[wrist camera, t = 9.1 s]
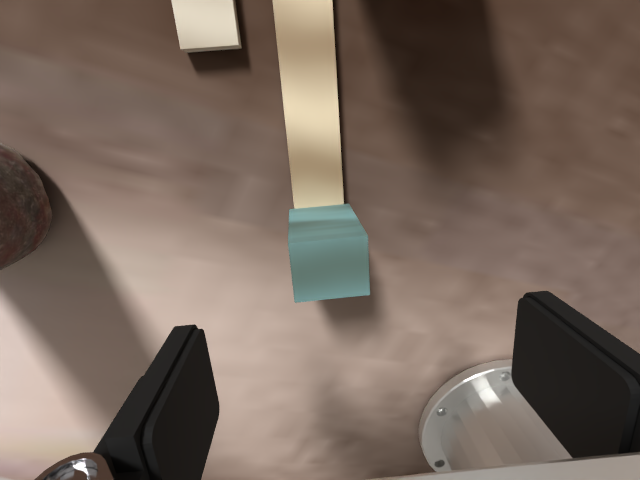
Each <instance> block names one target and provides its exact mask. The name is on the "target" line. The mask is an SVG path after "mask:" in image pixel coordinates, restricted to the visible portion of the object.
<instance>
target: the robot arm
mask: <svg viewBox="0 0 640 480" xmlns="http://www.w3.org/2000/svg"><path fill="white" fill-rule="evenodd" d="M218 417H219V401H218V396H217V391H216V386H215V381H214V376H213V372H212V367H211V362H210V357H209V352H208V347H207V343H206V338H205V333H204V330H203V329H198V328H197V326H196V325H185V326H176V327H174V328H173V330H172V331H171V333H170V334H169V336H168V338H167V339H166V341H165V343H164V344H163V346H162V347H161V349H160V351H159V352H158V354H157V355H156V357H155V359H154V360H153V362H152V363H151V365H150V367H149V368H148V370H147V372H146V373H145V375H144V376H142V377H141V378H140V379H139V380H138V382H137V384H136V385H135V387H134V388H133V390H132V391H131V393H130V395H129V396H128V398H127V399H126V401H125V403H124V404H123V406H122V407H121V409H120V410H119V412H118V414H117V415H116V417H115V418H114V420H113V422H112V423H111V425H110V426H109V428H108V430H107V431H106V433H105V434H104V436H103V437H102V439H101V441H100V442H99V444H98V445H97V447H96V449H95V450H94V452H90V453H80V454H76V455H73V456H70V457H68V458H65V459H63V460H61V461H59V462H57V463H56V464H54V465H53V466H51V467H49V468H48V469H46V470H45V471H44V472H43V473H42V474H40V475H39V476H38V477H37V478H36V479H35V480H201V477H202V474H203V470H204V467H205V463H206V460H207V456H208V452H209V449H210V445H211V442H212V438H213V435H214V431H215V428H216V424H217V420H218ZM418 433H419V442H420V445H421V448H422V451H423V454H424V456H425V458H426V460H427V462H428V464H429V465H430V466H431V467H432V469H433V470H434V471H435V472H432V473H423V474H413V475H404V476H395V477H385V478H376V479H367V480H640V354H639V353H637V352H636V351H635V350H633V349H632V348H630V347H629V346H627V345H626V344H624V343H623V342H621V341H620V340H619V339H617V338H616V337H614V336H613V335H611V334H610V333H608V332H607V331H606V330H604V329H603V328H601V327H600V326H598V325H597V324H595V323H594V322H592V321H591V320H590V319H588V318H587V317H585V316H584V315H582V314H581V313H579V312H578V311H576V310H575V309H574V308H572V307H571V306H569V305H568V304H566V303H565V302H563V301H562V300H561V299H559V298H558V297H556V296H555V295H553V294H552V293H550V292H548V291H540V292H529V293H526V294H525V295H524V296H523V298H521V299H519V301H518V308H517V319H516V329H515V339H514V349H513V359H509V360H496V361H491V362H487V363H483V364H479V365H477V366H474V367H472V368H469V369H467V370H465V371H463V372H461V373H460V374H458V375H456V376H454V377H453V378H451V379H450V380H449V381H448V382H446V383H445V384H444V385H443V386H441V387H440V388H439V389H438V391H437V392H436V393H435V394H434V395H433V396H432V397H431V399H430V400H429V402H428V404H427V405H426V407H425V408H424V411H423V413H422V416H421V419H420V423H419V430H418Z"/></svg>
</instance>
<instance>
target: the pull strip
mask: <svg viewBox="0 0 640 480" xmlns="http://www.w3.org/2000/svg"><path fill="white" fill-rule="evenodd" d="M273 9H274V18H275V28H276V37H277V47H278V57H279V66H280V76H281V85H282V95H283V105H284V114H285V124H286V133H287V143H288V152H289V162H290V172H291V181H292V191H293V200H294V209H289V232H288V247H289V256H290V265H291V274H292V282H293V291H294V300H295V303H296V302H306V301H315V300H325V299H335V298H345V297H354V296H364V295H370V282H369V253H368V235H367V233H366V232H365V230H364V228H363V227H362V225H361V223H360V222H359V220H358V218H357V217H356V215H355V213H354V212H353V210H352V208H351V206H350V205H349V204H344V197H343V179H342V161H341V144H340V126H339V109H338V91H337V73H336V56H335V38H334V20H333V3H332V0H273Z"/></svg>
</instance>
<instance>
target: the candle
mask: <svg viewBox="0 0 640 480" xmlns="http://www.w3.org/2000/svg"><path fill="white" fill-rule="evenodd" d="M51 220H52V213H51V207H50V205H49V199H48V197H47V195H46V192H45V189H44V187H43V184H42V181H41V179H40V177H39V175H38V174H37V173H36V172H35V171H34V170H33V169H32V168H31V167H30V166H29V165H28V164H27V163H26V161H25V160H24V159H23V158H22V156H21V155H20V154H19V153H18V152H17V151H16V150H14V149H12V148H10V147H8V146H6V145H4V144H2V143H0V270H1V269H3V268H5V267H7V266H9V265H11V264H13V263H14V262H16V261H18V260H20V259H21V258H23V257H25V256H26V255H28V254H30V253H31V252H32V251H34V250H35V249H36V248H37V247H38V245H39V244H40V243H41V242H42V241H43V240H44V238H45V237H46V234H47V232H48V230H49V227H50V223H51Z"/></svg>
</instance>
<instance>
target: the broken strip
mask: <svg viewBox="0 0 640 480" xmlns="http://www.w3.org/2000/svg"><path fill="white" fill-rule="evenodd" d="M172 6H173V11H174V17H175V22H176V27H177V33H178V38H179V44H180V49H181V50H183V51H185V52H187V53H189V52H203V51H216V50H229V49H242V47H241V39H240V32H239V24H238V17H237V9H236V2H235V0H172Z"/></svg>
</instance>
